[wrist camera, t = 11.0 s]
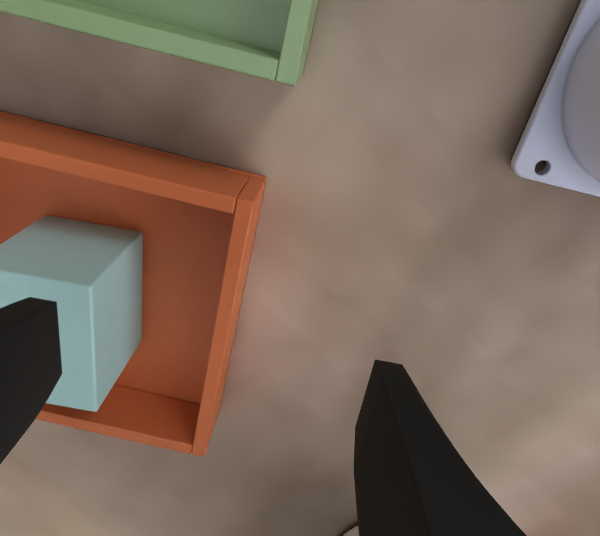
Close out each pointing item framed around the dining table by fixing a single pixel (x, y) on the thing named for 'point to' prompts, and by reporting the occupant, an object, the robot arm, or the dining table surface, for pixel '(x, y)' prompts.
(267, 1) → the sage tote
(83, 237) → the light blue box
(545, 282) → the dining table surface
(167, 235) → the terracotta tote
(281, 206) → the dining table surface
